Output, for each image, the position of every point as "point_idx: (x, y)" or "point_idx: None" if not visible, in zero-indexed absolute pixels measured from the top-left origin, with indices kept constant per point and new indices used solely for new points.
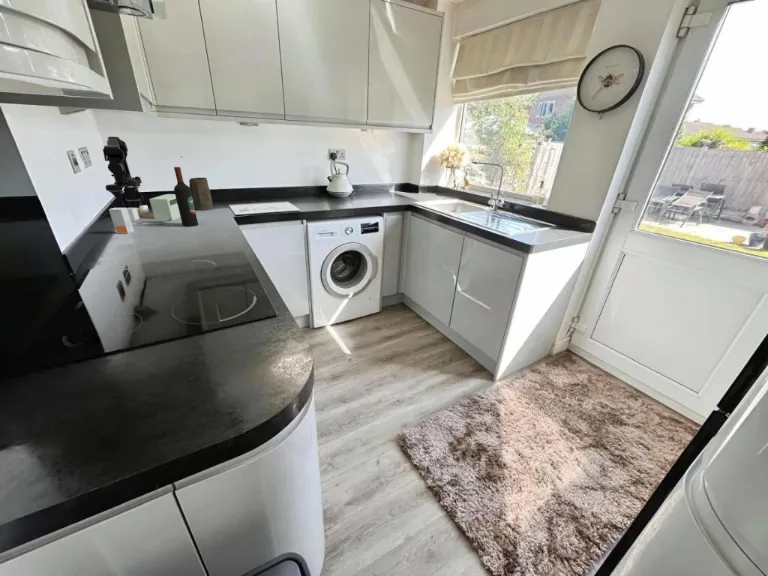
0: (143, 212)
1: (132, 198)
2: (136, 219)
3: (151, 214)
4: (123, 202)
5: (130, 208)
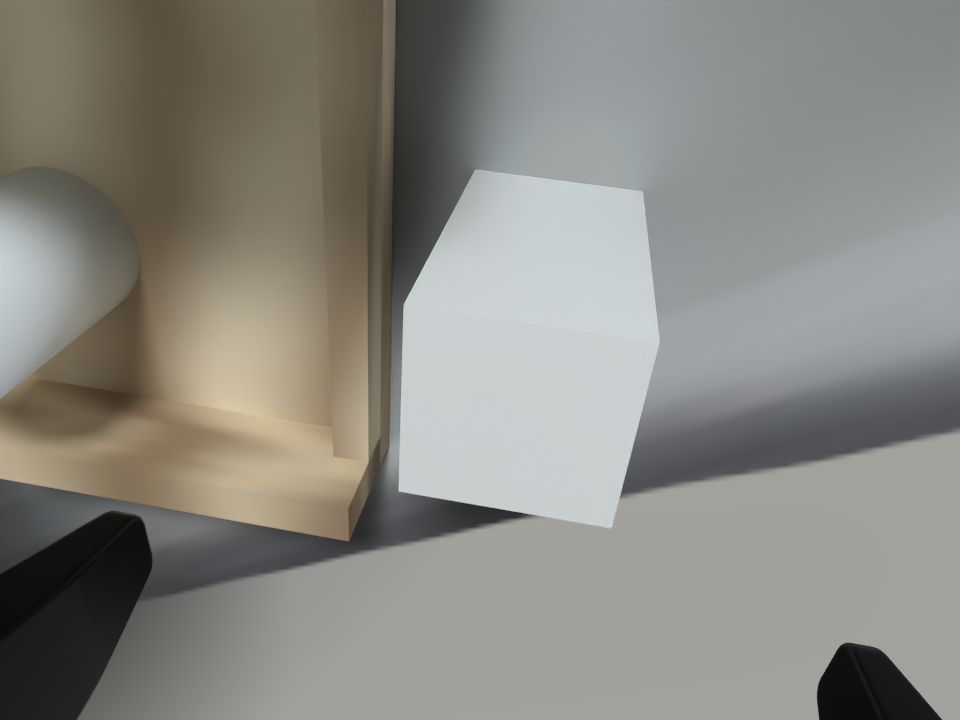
0: (100, 263)
1: (110, 620)
2: (590, 199)
3: (49, 99)
4: (887, 676)
5: (514, 424)
